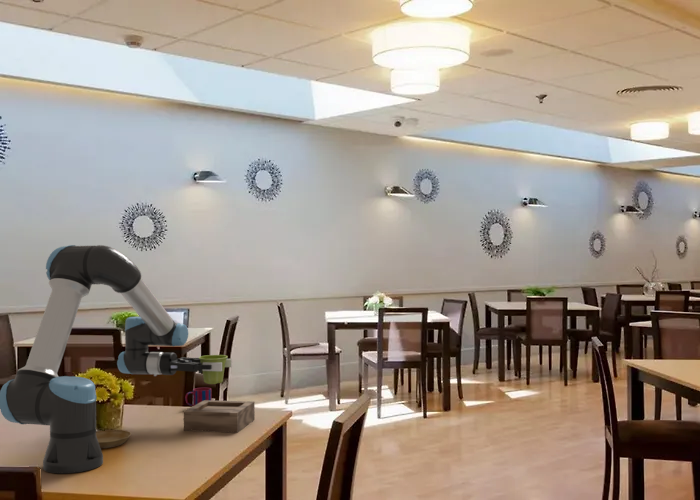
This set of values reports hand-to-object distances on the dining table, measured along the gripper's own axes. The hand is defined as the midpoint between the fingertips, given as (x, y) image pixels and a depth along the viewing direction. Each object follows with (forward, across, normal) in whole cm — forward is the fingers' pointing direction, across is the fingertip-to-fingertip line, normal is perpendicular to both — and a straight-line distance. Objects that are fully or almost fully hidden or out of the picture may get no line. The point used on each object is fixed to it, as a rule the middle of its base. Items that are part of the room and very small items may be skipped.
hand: (226, 365), depth 246 cm
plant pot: (-5, 0, -6) cm, 8 cm away
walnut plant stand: (-2, +1, -20) cm, 20 cm away
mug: (-20, -23, -20) cm, 37 cm away
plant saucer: (-28, +29, -20) cm, 45 cm away
